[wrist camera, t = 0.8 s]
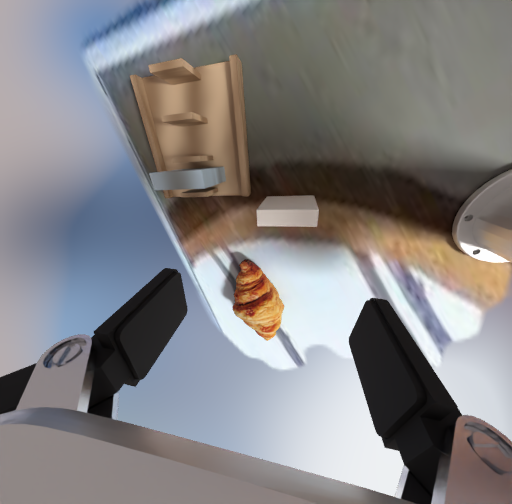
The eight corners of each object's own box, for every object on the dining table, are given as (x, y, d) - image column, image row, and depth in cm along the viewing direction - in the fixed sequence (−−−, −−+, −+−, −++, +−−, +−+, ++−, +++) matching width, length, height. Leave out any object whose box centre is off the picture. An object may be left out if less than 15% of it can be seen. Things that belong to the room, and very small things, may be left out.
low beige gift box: (313, 195, 27) (318, 209, 20) (312, 208, 27) (317, 226, 21) (266, 196, 28) (256, 210, 21) (267, 209, 29) (257, 226, 22)
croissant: (283, 319, 45) (298, 346, 38) (245, 336, 43) (254, 367, 36) (263, 244, 36) (278, 261, 28) (214, 262, 34) (217, 284, 27)
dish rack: (241, 62, 21) (214, 18, 14) (251, 193, 28) (235, 206, 21) (142, 81, 24) (80, 52, 17) (173, 195, 31) (137, 207, 24)
